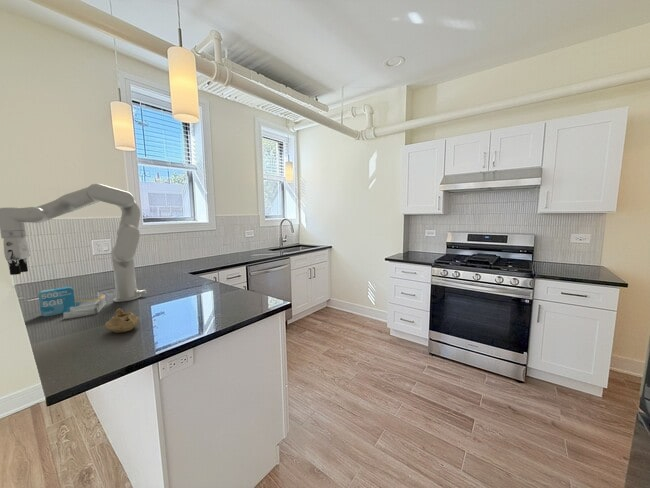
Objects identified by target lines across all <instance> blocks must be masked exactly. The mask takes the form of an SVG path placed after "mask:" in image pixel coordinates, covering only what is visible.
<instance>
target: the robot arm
mask: <svg viewBox="0 0 650 488" xmlns="http://www.w3.org/2000/svg"><path fill="white" fill-rule="evenodd" d="M99 202H103V203H106V204H110V205H115V206H117V207H118V208H120V210H121V217H120V220H119V221H120V222H119V225H118V228H117V231H116V236H117V237H116V241H115V245H114V246H113V247H112V248H111V251H110V255H111V262H112V267H113V277H114V286H115V294H116V297H114V298H113V299H112V300H113V302H116V303H121V302H130V301H134V300H137V299H140V298H141V294H142V295H144V294H147V290H146V289H142V290H139V288H137V281H136V279H137V278H136V270H135V262H134V258H135V256H136V253H137V248H138V245H139V240H140V235H141V234H140V230H139V226H140V225H139V224H140V220H141V219H140V218H141V210H140V209H141V208H140V207H139V205H138V203H137V202H136V201H135V197H134V195H133V194H132V193H131V192H129V191H125V190H122V189H119V188H116V187H112V186H108V185H104V184H101V183H93V184H90V185H88V186H86V187H85V188H81V189H79V190H78V189H77V190H75V191H72V192H69V193H65V194H64V195H61V196H59V197H58V198H56V199H55V200H53V201H52V200H51V201H49V202H47V203H44V204H41V205H38V206H27V207H0V237H1V239H3V252H4V253H3V254H4V258H5V260H6V261H7V264H8V268H9V275H10V276H14V275H21V273H26V272H29V268H28V261H27V258H29V257H30V249H29V244H28V242H27V233H26V226H25V223H29V224H31V223H32V224H40V223H44V222H46V221H49V220H52V219H54V218H57V217H60V216H63V215H65V214H69V213H73V212H75V211H79V210H81V209H84V208H86V207H88V206H92V205H95V204H97V203H99Z"/></svg>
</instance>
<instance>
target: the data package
mask: <svg viewBox="0 0 650 488" xmlns="http://www.w3.org/2000/svg"><path fill="white" fill-rule="evenodd" d="M37 295H38V302H39V310H40V314H41V316H42V317H51V316H56V315H59V314H63V313H64V312H69V311H70V307H74V306H76V303H75V302H76V300H75V299H76V298H75V293H74V289H73V288H72V286H64V287H56V288H52V289H44V290H40V291H38V294H37Z"/></svg>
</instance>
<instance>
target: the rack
mask: <svg viewBox="0 0 650 488" xmlns="http://www.w3.org/2000/svg"><path fill="white" fill-rule="evenodd" d="M106 304H107V301H106V295H105V294H104V293H103V294H101V295H100V296H99V297H98V298H94V299H86V300H79V301H75V306H74V307H70V311H69V312H64V313H62V314H63V315H62V316H63V319H64V320H67V319H74V318H80V317H85V316H86V317H87V316H92V315H97V314H99V313H100V312H101V310H102V309H103V308H104V307H105V305H106Z"/></svg>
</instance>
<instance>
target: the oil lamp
mask: <svg viewBox="0 0 650 488" xmlns="http://www.w3.org/2000/svg"><path fill="white" fill-rule="evenodd" d="M139 321H140V319H139V316H137V315H135V314H134V313H133V312H130V311H125V312H124V311H123V309H122V308H120V307H119V308H117V309H116V310H115V314H114V315H113V316H112V317H110V319H109V320H108V321H106V323H105V324H104V328H105V329H106V330H109V331H112V332H114V333H119V334H120V333H126V332H129V331H131V330H133V329H134V328H135V326H136V325H138V323H139Z"/></svg>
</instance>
